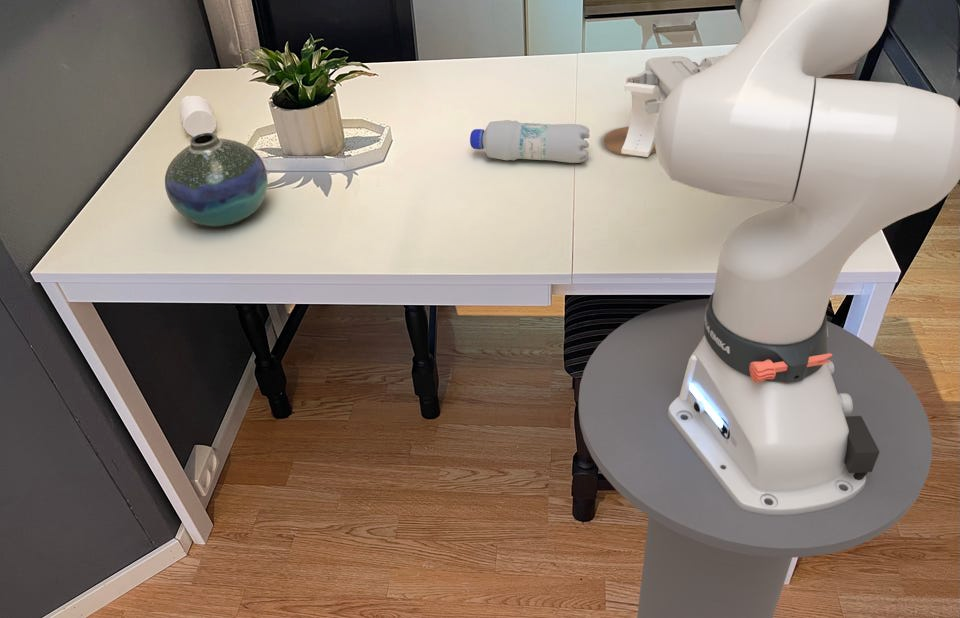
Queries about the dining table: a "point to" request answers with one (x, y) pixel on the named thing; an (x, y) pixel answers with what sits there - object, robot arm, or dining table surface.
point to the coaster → (618, 141)
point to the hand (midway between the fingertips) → (636, 95)
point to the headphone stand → (641, 120)
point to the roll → (196, 115)
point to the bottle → (532, 141)
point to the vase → (216, 181)
